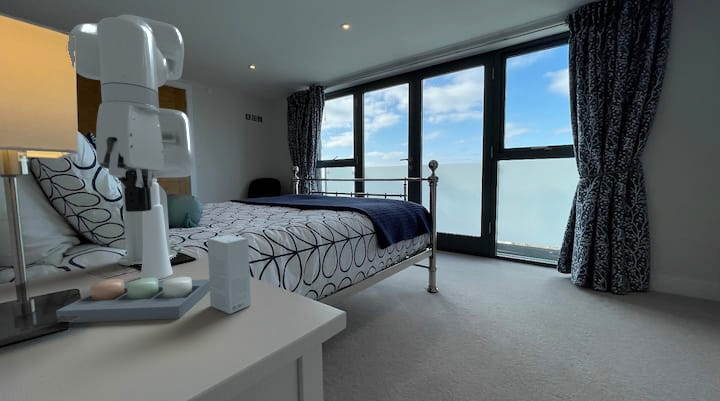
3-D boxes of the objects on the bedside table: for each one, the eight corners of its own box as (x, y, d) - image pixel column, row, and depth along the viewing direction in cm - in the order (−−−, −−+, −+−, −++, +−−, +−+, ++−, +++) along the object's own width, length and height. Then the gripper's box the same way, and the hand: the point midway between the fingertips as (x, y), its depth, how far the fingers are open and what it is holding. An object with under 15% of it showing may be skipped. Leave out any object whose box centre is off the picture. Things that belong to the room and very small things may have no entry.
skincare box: (251, 305, 51) (249, 238, 50) (229, 315, 48) (226, 243, 47) (231, 297, 55) (229, 234, 53) (209, 306, 51) (205, 238, 50)
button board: (115, 292, 57) (114, 282, 57) (211, 289, 58) (210, 279, 58) (57, 323, 45) (56, 310, 45) (179, 318, 47) (178, 306, 46)
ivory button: (172, 289, 54) (171, 277, 54) (196, 288, 54) (196, 276, 54) (157, 299, 50) (156, 286, 50) (184, 298, 50) (183, 285, 50)
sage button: (138, 290, 54) (137, 278, 53) (164, 290, 54) (163, 277, 54) (121, 301, 49) (120, 287, 49) (148, 300, 50) (147, 286, 49)
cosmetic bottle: (140, 275, 67) (133, 178, 65) (171, 270, 70) (166, 178, 68) (140, 283, 62) (133, 178, 60) (174, 277, 66) (168, 178, 64)
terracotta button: (105, 291, 53) (104, 279, 53) (130, 291, 54) (129, 278, 53) (84, 302, 49) (83, 288, 49) (112, 301, 49) (111, 287, 49)
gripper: (137, 112, 56) (144, 207, 57) (66, 87, 41) (77, 216, 42) (178, 112, 57) (184, 206, 58) (123, 87, 42) (132, 215, 43)
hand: (138, 210), depth 50 cm, fingers closed
